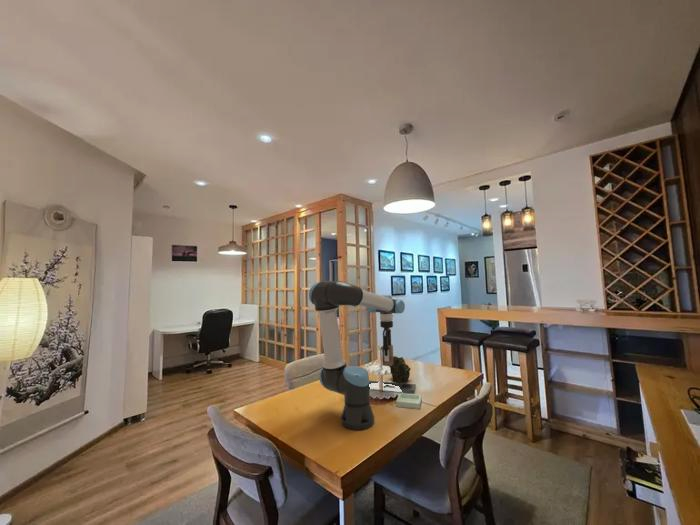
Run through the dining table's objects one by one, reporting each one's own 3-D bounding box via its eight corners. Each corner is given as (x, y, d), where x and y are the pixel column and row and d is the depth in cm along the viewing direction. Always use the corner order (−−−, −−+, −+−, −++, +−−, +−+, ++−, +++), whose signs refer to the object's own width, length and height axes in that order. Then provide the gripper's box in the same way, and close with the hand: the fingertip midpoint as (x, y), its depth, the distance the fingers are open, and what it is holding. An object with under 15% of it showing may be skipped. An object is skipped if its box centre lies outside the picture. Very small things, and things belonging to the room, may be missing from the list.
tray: (419, 409, 140) (419, 403, 140) (396, 406, 143) (396, 401, 144) (421, 400, 151) (421, 394, 151) (399, 397, 154) (399, 392, 155)
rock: (387, 380, 183) (388, 356, 186) (395, 379, 189) (396, 355, 192) (403, 384, 174) (404, 358, 177) (411, 382, 180) (412, 357, 184)
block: (391, 366, 166) (391, 347, 167) (382, 365, 168) (381, 346, 169) (393, 363, 171) (392, 345, 172) (384, 363, 173) (383, 344, 174)
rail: (413, 394, 159) (413, 390, 159) (362, 389, 169) (362, 385, 169) (415, 387, 168) (415, 384, 169) (367, 383, 178) (366, 380, 178)
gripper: (389, 322, 162) (391, 364, 160) (395, 318, 179) (396, 356, 177) (376, 322, 164) (378, 363, 162) (383, 318, 181) (384, 355, 180)
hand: (387, 359), depth 170 cm, fingers closed on block, 5 cm apart
